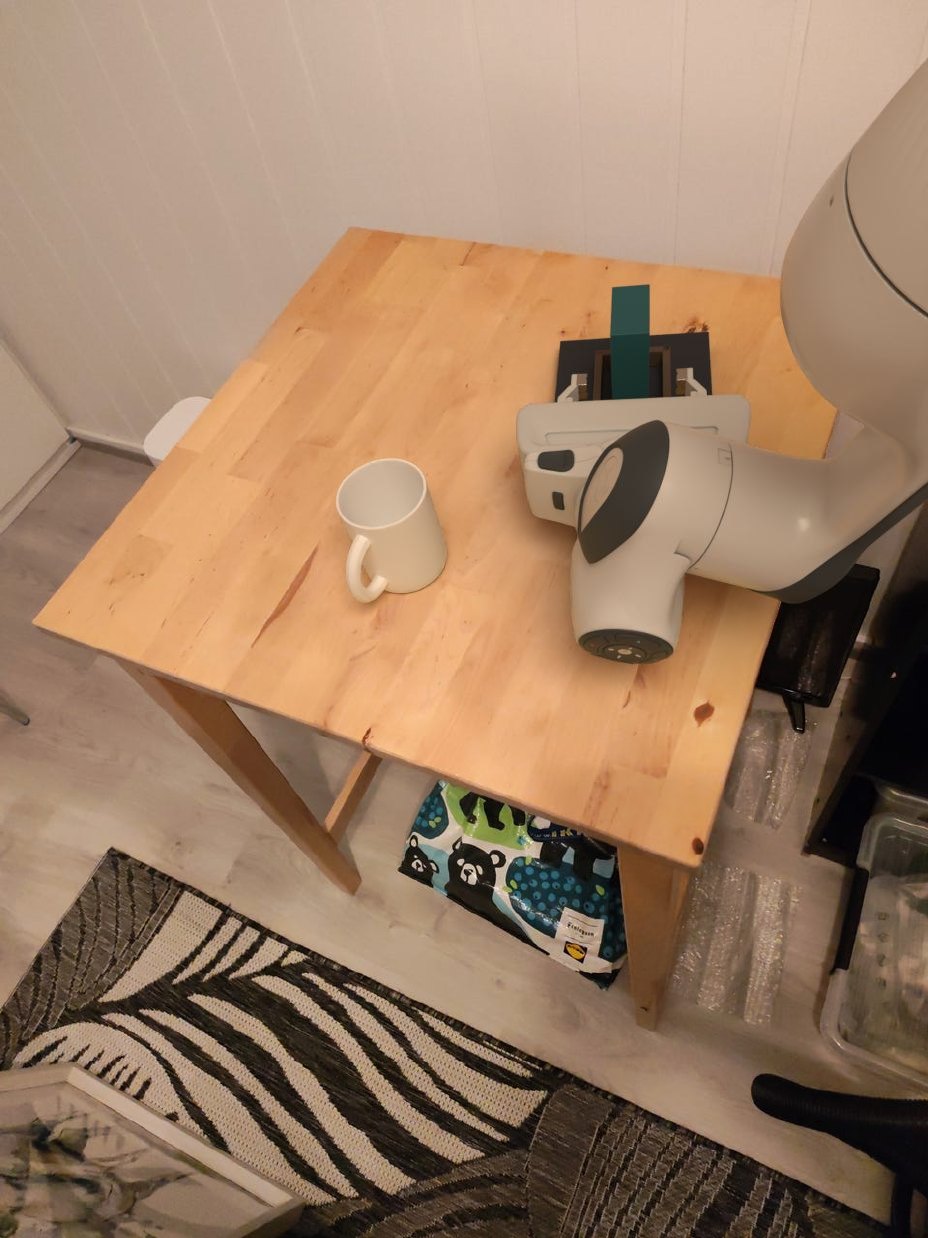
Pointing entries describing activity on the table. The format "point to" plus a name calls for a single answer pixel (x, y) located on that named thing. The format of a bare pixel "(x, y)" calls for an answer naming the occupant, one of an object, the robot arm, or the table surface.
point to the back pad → (630, 341)
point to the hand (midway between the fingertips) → (631, 376)
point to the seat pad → (663, 363)
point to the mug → (390, 529)
